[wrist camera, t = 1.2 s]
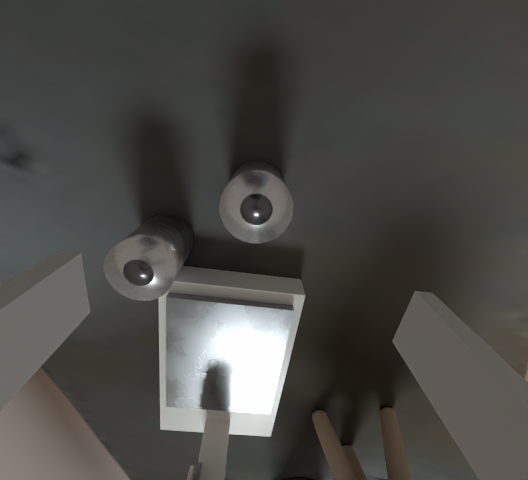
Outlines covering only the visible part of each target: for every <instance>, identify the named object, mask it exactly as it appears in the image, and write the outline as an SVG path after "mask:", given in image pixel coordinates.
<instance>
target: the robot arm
mask: <svg viewBox="0 0 528 480" xmlns="http://www.w3.org/2000/svg"><path fill="white" fill-rule="evenodd" d="M89 313H90V308H89V301H88V295H87V289H86V282H85V276H84V270H83V263H82V257H81V253H77V252H68V251H58V252H56V253H54V254H53V255H51V256H49V257H48V258H46V259H45V260H43V261H41V262H40V263H38V264H36V265H35V266H33V267H32V268H30V269H28V270H27V271H25V272H23V273H22V274H20V275H19V276H17V277H15V278H14V279H12V280H10V281H9V282H7V283H6V284H4V285H2V286H1V287H0V411H1V410H2V409H3V407H4V406H5V405H6V404H7V403H8V402H9V401H10V400H11V399H12V398H13V396H14V395H15V394H16V393H17V392H18V391H19V390H20V389H21V388H22V386H23V385H24V384H25V383H26V382H27V381H28V380H29V379H30V378H31V377H32V376H33V374H34V373H35V372H36V371H37V370H38V369H39V368H40V367H41V366H42V365H43V363H44V362H45V361H46V360H47V359H48V358H49V357H50V356H51V355H52V354H53V353H54V351H55V350H56V349H57V348H58V347H59V346H60V345H61V344H62V343H63V342H64V340H65V339H66V338H67V337H68V336H69V335H70V334H71V333H72V332H73V331H74V329H75V328H76V327H77V326H78V325H79V324H80V323H81V322H82V321H83V320H84V318H85V317H86V316H87V315H88V314H89ZM392 342H393V344H394V345H395V347H396V348H397V350H398V352H399V353H400V355H401V356H402V358H403V359H404V361H405V363H406V364H407V366H408V367H409V369H410V371H411V372H412V374H413V375H414V377H415V379H416V380H417V382H418V383H419V385H420V386H421V388H422V390H423V391H424V393H425V394H426V396H427V398H428V399H429V401H430V402H431V404H432V405H433V407H434V409H435V410H436V412H437V413H438V415H439V417H440V418H441V420H442V421H443V423H444V425H445V426H446V428H447V429H448V431H449V432H450V434H451V436H452V437H453V439H454V440H455V442H456V444H457V445H458V447H459V448H460V450H461V451H462V453H463V455H464V456H465V458H466V459H467V461H468V463H469V464H470V466H471V467H472V469H473V471H474V472H475V474H476V475H477V477H478V478H479V480H528V382H527V381H525V380H524V379H523V378H522V377H521V376H520V375H519V374H518V373H517V372H516V371H515V370H514V369H513V368H512V367H511V366H510V365H508V364H507V363H506V362H505V361H504V360H503V359H502V358H501V357H500V356H499V355H498V354H497V353H496V352H495V351H494V350H493V349H492V348H490V347H489V346H488V345H487V344H486V343H485V342H484V341H483V340H482V339H481V338H480V337H479V336H478V335H477V334H476V333H475V332H473V331H472V330H471V329H470V328H469V327H468V326H467V325H466V324H465V323H464V322H463V321H462V320H461V319H460V318H459V317H458V316H456V315H455V314H454V313H453V312H452V311H451V310H450V309H449V308H448V307H447V306H446V305H445V304H444V303H443V302H442V301H441V300H440V299H438V298H437V297H436V296H435V295H434V294H433V293H429V292H420V291H415V292H414V294H413V296H412V299H411V301H410V303H409V305H408V307H407V310H406V312H405V314H404V316H403V318H402V321H401V323H400V325H399V327H398V329H397V332H396V334H395V336H394V338H393V340H392Z"/></svg>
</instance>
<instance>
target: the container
mask: <svg viewBox="0 0 528 480" xmlns="http://www.w3.org/2000/svg"><path fill="white" fill-rule="evenodd" d="M286 480H311V479H307V478H291V479H286Z"/></svg>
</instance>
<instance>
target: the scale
mask: <svg viewBox="0 0 528 480" xmlns="http://www.w3.org/2000/svg"><path fill="white" fill-rule="evenodd" d="M169 292H170V293H180V294H189V295H199V296H208V297H218V298H227V299H237V300H246V301H256V302H265V303H275V304H284V305H293V307H294V314H293V319H292V323H291V327H290V331H289V336H288V340H287V344H286V349H285V353H284V357H283V362H282V366H281V370H280V374H279V379H278V383H277V387H276V392H275V396H274V400H273V404H272V409H271V413H270V414H260V413H246V412H232V411H218V410H204V409H190V408H175V407H166V296H167V294H168V293H169ZM304 299H305V292H304V289H303V286H302V282H301V279H295V278H286V277H277V276H268V275H259V274H251V273H242V272H233V271H224V270H216V269H207V268H198V267H189V266H182V267H181V269H180V271H179V273H178V274H177V276H176V278H175V280H174V282H173V283H172V285H171V287H170V288H169V290H168V291H167V292H166V293H165V294H164V295H163V296H161V297H159V363H160V430H175V431H190V432H203V438H202V443H201V449H200V455H199V460H198V462H197V465H196V466H190V468H189V472H188V474H187V477H186V480H225V470H226V459H227V449H228V438H229V434H237V435H253V436H269V437H271V433H272V429H273V425H274V421H275V417H276V413H277V409H278V405H279V401H280V397H281V392H282V388H283V384H284V380H285V376H286V372H287V368H288V364H289V360H290V356H291V352H292V348H293V344H294V340H295V336H296V332H297V328H298V324H299V319H300V315H301V311H302V307H303V303H304Z"/></svg>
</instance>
